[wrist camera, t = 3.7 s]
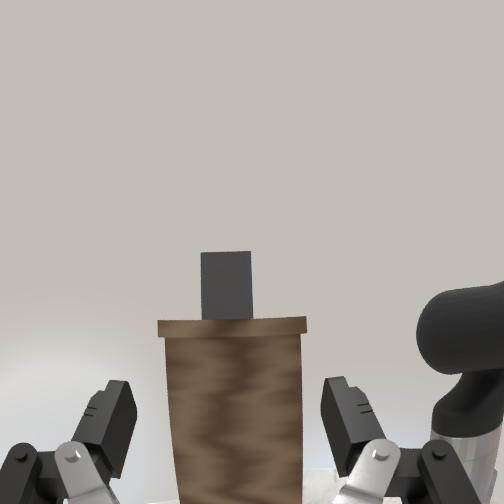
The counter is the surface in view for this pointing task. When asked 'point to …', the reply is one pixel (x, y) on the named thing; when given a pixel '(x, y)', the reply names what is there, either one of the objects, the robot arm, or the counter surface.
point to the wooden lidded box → (236, 409)
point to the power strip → (226, 285)
